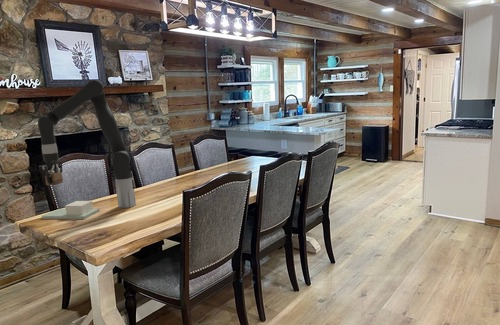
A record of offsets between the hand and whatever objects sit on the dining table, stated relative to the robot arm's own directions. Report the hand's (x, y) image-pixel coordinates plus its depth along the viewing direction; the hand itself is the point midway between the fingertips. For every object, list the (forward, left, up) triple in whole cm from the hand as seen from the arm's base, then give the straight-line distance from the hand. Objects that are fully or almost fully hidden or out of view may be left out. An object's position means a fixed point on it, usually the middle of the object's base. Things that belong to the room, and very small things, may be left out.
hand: (54, 182), depth 211 cm
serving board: (-7, -1, -19) cm, 20 cm away
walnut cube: (0, 0, -1) cm, 1 cm away
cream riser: (-12, -2, -18) cm, 21 cm away
